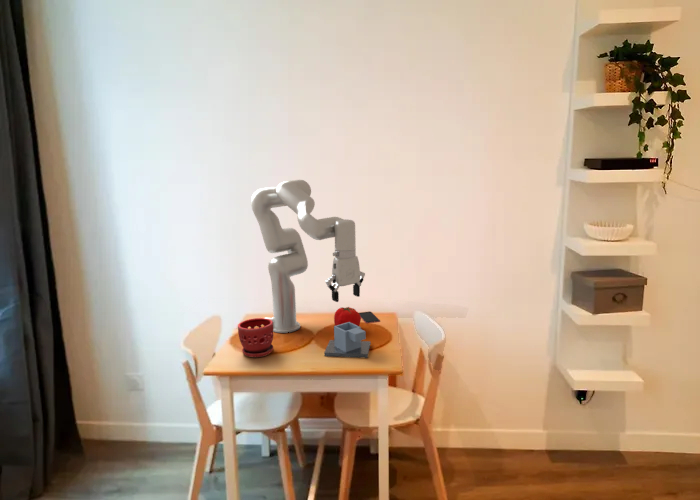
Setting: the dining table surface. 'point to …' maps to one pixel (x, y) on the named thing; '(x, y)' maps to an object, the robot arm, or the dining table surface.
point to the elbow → (348, 336)
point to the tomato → (346, 316)
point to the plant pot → (256, 337)
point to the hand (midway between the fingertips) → (346, 298)
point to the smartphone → (368, 317)
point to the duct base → (355, 353)
